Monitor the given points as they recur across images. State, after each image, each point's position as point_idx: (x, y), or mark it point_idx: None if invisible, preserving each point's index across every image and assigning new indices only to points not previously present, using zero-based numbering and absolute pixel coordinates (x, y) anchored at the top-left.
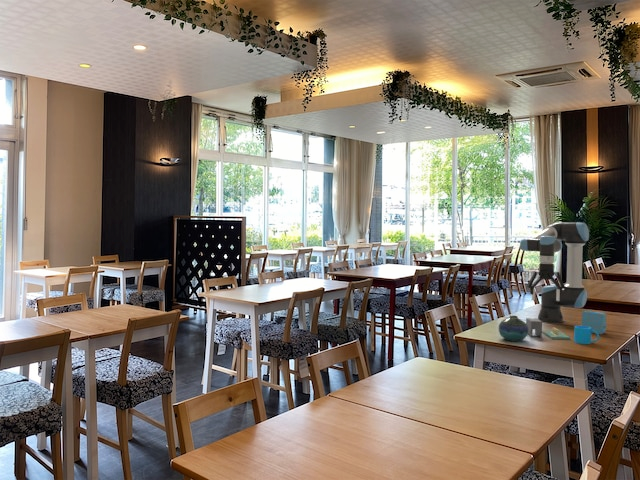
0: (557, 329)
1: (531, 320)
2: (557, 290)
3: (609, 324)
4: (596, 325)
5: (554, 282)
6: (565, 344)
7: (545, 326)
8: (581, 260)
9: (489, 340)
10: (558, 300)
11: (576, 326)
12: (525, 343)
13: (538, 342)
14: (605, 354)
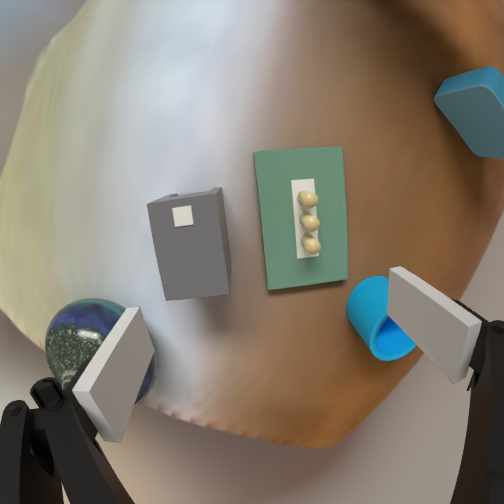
0: (315, 244)
1: (169, 277)
2: (452, 349)
3: (494, 19)
4: (483, 139)
5: (458, 478)
6: (295, 357)
7: (303, 16)
8: None
9: None
10: (392, 316)
11: (382, 323)
12: None
13: (201, 353)
14: (360, 418)
